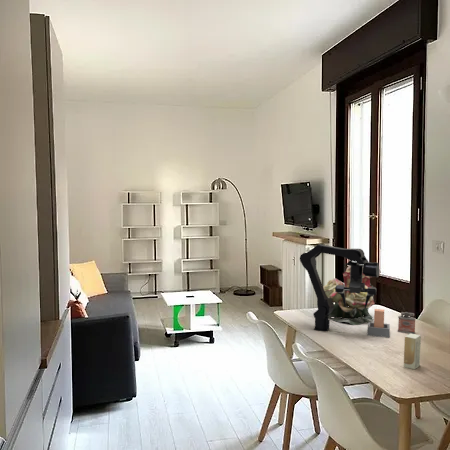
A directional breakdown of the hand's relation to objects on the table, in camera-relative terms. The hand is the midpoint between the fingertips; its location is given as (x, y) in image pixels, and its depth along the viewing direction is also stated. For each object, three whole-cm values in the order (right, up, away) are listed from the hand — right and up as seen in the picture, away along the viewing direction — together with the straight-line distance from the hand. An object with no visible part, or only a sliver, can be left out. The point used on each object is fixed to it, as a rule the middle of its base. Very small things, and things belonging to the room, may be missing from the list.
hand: (355, 307), depth 237 cm
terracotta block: (+12, -13, +3) cm, 18 cm away
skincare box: (+10, -16, -44) cm, 48 cm away
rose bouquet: (+6, -12, +32) cm, 34 cm away
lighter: (+27, -14, +7) cm, 31 cm away
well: (+12, -13, +3) cm, 18 cm away
